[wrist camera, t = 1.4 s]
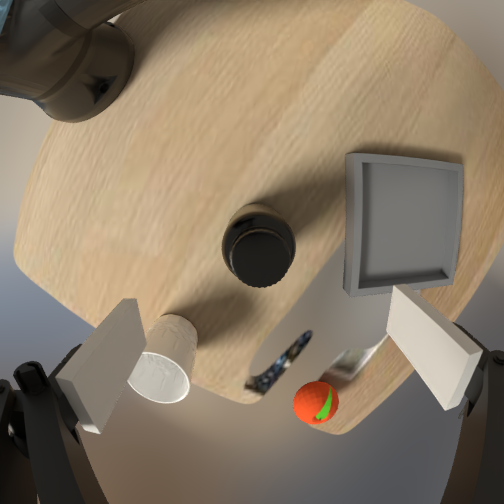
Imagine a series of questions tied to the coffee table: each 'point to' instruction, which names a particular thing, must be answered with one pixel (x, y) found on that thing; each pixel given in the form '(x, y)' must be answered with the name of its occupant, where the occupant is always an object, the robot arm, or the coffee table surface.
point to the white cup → (166, 360)
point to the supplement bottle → (258, 245)
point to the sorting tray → (400, 223)
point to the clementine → (315, 402)
